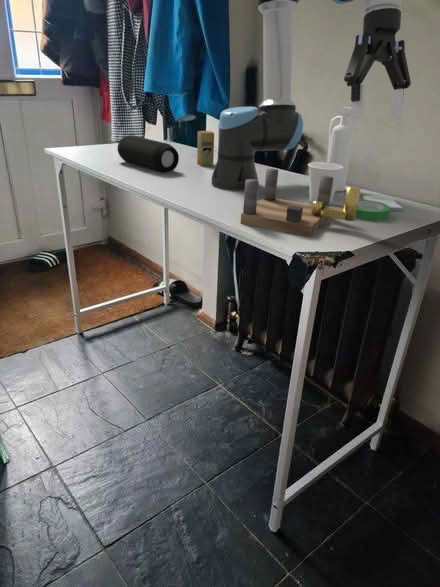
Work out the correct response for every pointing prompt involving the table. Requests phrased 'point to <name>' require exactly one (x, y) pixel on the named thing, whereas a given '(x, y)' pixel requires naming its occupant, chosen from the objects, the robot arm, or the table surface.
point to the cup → (322, 170)
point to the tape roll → (372, 210)
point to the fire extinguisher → (341, 143)
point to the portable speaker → (148, 153)
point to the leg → (340, 213)
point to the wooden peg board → (283, 207)
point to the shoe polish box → (205, 148)
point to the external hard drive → (385, 202)
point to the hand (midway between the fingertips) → (377, 119)
